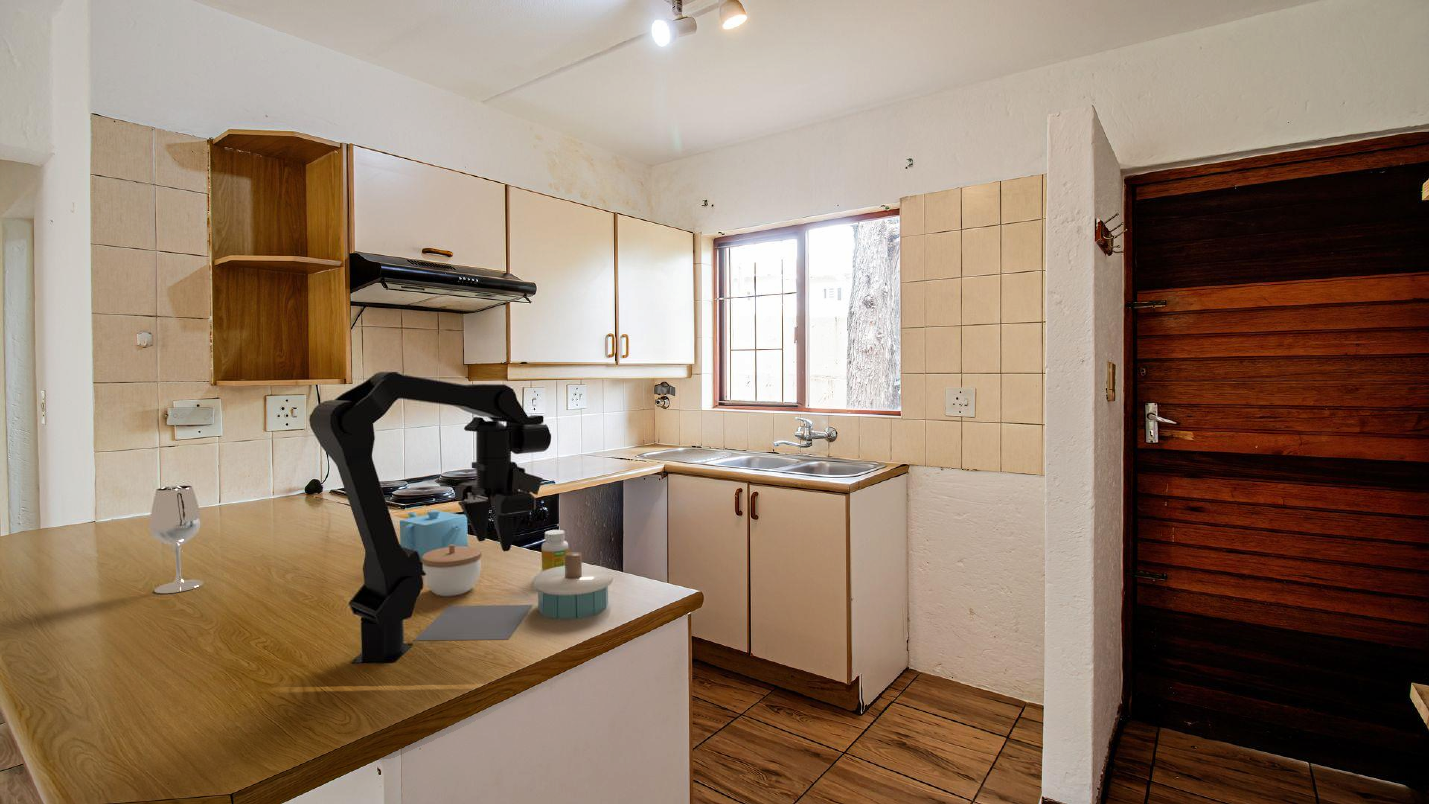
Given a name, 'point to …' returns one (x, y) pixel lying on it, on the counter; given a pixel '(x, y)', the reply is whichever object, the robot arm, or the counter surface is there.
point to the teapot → (433, 531)
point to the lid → (573, 577)
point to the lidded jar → (452, 569)
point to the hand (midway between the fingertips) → (493, 545)
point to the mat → (475, 623)
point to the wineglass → (175, 528)
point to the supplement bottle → (554, 549)
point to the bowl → (572, 604)
